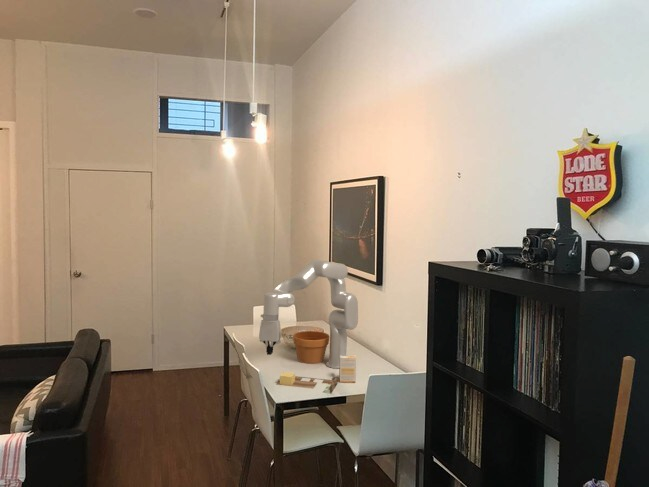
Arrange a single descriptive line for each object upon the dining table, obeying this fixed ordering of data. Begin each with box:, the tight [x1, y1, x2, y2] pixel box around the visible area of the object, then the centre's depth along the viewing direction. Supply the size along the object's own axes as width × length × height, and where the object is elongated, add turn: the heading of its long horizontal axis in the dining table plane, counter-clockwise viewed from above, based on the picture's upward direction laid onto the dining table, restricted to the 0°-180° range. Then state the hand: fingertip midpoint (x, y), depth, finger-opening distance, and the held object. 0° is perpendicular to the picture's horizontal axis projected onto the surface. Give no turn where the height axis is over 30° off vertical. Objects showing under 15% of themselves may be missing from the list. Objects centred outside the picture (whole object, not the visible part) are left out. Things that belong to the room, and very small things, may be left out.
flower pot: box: [292, 330, 330, 365], centre depth 297 cm, size 21×21×15 cm
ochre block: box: [279, 371, 296, 385], centre depth 252 cm, size 6×6×4 cm
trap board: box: [275, 375, 339, 394], centre depth 254 cm, size 15×28×4 cm, turn 77°
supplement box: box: [338, 354, 357, 384], centre depth 262 cm, size 8×5×13 cm, turn 92°
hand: (269, 354), depth 254 cm, fingers closed
